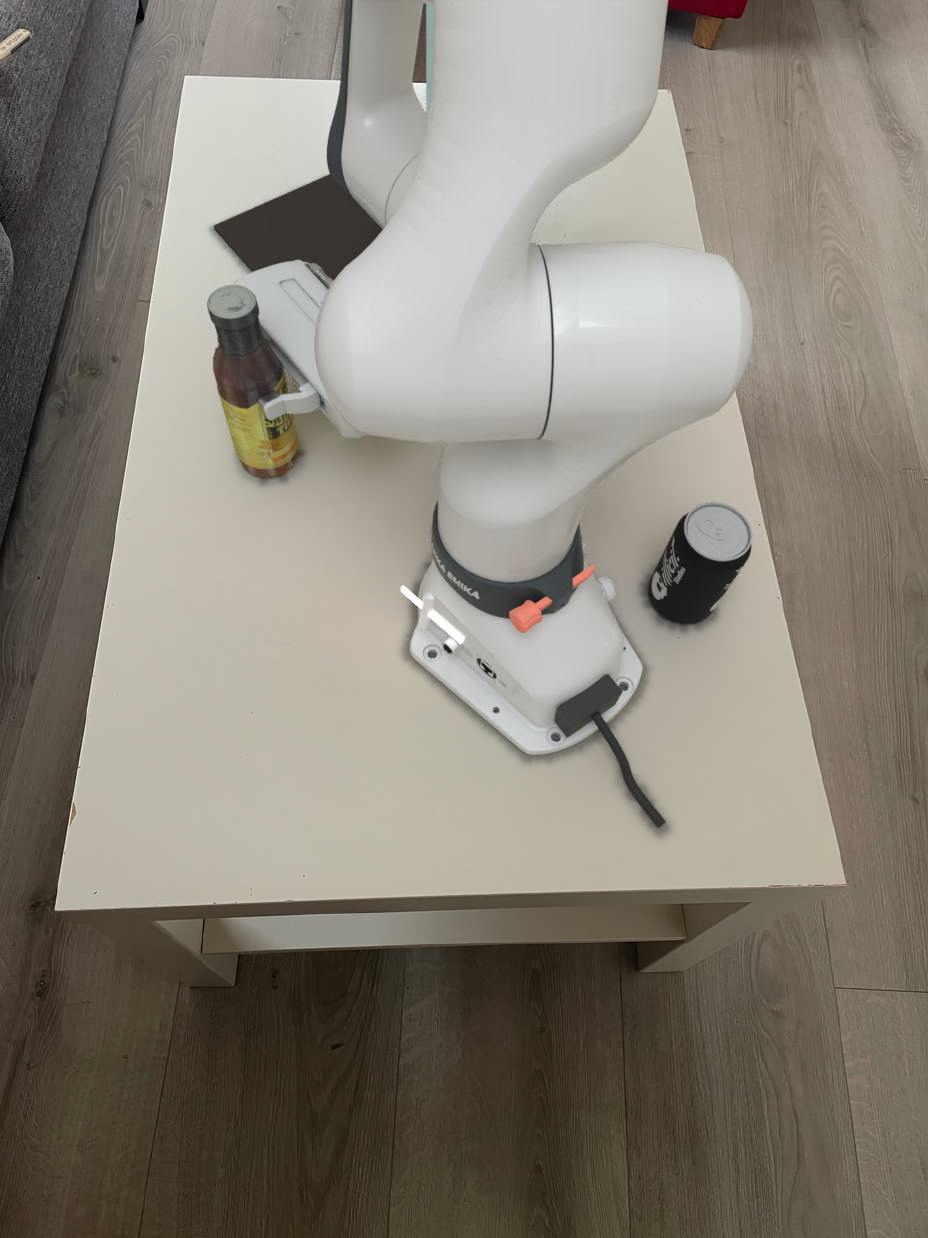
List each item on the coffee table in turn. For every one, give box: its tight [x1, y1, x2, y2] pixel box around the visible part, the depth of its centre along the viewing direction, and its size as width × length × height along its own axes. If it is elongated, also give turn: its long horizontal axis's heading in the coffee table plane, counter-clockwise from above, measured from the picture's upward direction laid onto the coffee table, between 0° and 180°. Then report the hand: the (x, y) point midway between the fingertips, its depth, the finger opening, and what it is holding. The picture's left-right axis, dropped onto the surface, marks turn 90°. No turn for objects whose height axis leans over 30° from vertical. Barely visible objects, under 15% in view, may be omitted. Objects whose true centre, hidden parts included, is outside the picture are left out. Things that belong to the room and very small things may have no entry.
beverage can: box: [647, 501, 754, 625], centre depth 76 cm, size 7×7×12 cm
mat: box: [213, 173, 383, 280], centre depth 101 cm, size 20×20×1 cm
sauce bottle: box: [206, 284, 299, 479], centre depth 78 cm, size 6×6×20 cm
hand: (241, 384), depth 77 cm, fingers closed on sauce bottle, 6 cm apart
